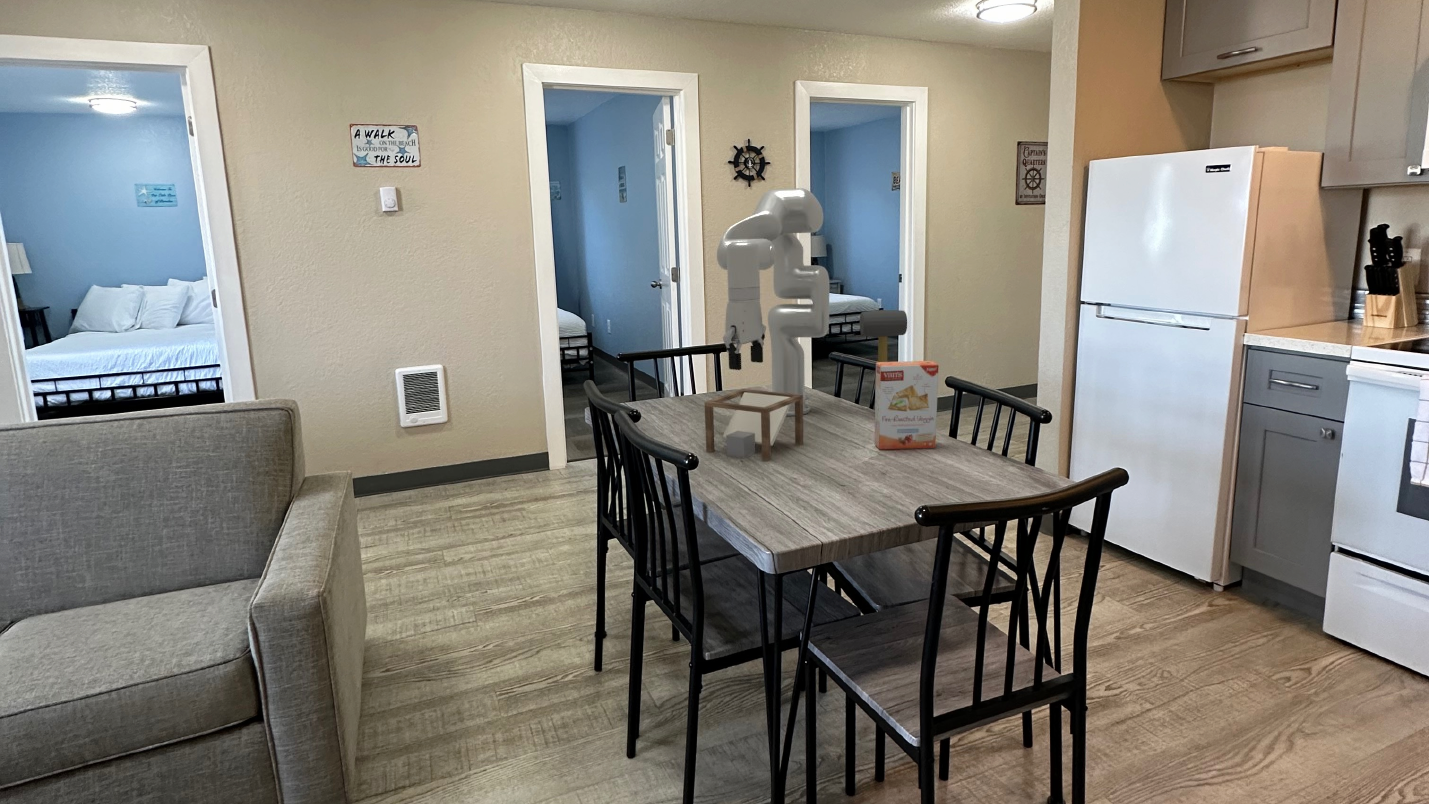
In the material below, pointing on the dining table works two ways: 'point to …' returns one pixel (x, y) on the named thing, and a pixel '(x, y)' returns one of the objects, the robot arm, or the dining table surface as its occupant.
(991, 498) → the dining table surface
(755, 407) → the frame
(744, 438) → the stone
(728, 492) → the dining table surface
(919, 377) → the cracker box
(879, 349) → the rubber mallet
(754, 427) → the trapdoor
